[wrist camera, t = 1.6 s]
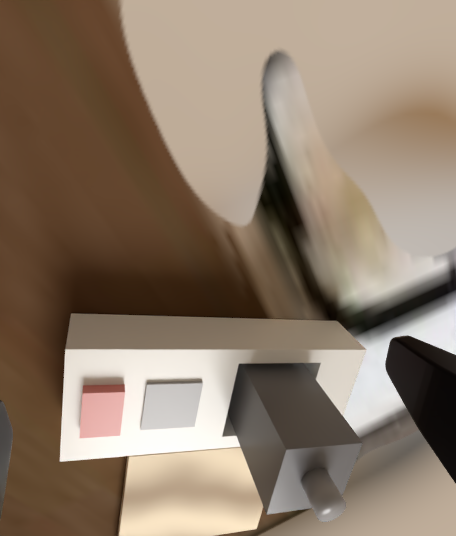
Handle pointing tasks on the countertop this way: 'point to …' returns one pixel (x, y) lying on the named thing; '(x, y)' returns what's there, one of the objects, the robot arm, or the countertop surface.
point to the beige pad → (189, 494)
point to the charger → (292, 439)
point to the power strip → (182, 377)
